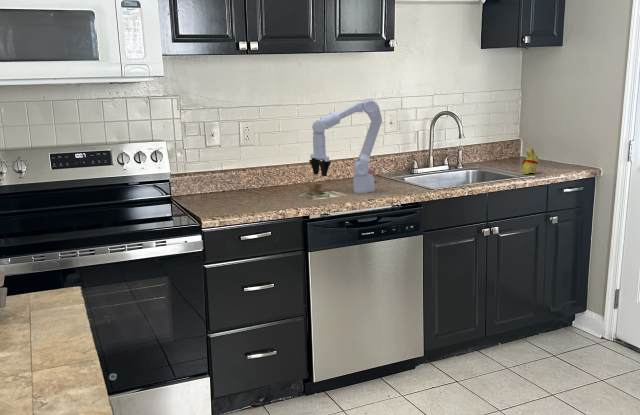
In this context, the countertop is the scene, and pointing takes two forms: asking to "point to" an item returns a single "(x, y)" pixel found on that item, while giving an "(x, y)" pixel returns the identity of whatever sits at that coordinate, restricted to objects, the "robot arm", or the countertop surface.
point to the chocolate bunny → (530, 161)
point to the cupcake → (371, 172)
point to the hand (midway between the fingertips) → (320, 175)
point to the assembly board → (323, 195)
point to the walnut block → (315, 189)
